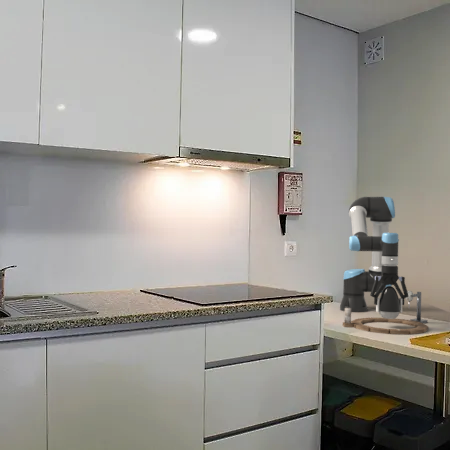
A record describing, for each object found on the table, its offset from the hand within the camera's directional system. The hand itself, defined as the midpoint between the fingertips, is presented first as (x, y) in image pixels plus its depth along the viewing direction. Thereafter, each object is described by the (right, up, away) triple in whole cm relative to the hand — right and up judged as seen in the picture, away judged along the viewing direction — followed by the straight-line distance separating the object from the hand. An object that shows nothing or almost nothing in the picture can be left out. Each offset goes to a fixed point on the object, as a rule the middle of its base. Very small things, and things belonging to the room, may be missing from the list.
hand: (389, 311), depth 262 cm
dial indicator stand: (+16, -8, +12) cm, 21 cm away
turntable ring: (-2, -7, 0) cm, 8 cm away
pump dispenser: (0, -3, 0) cm, 3 cm away
